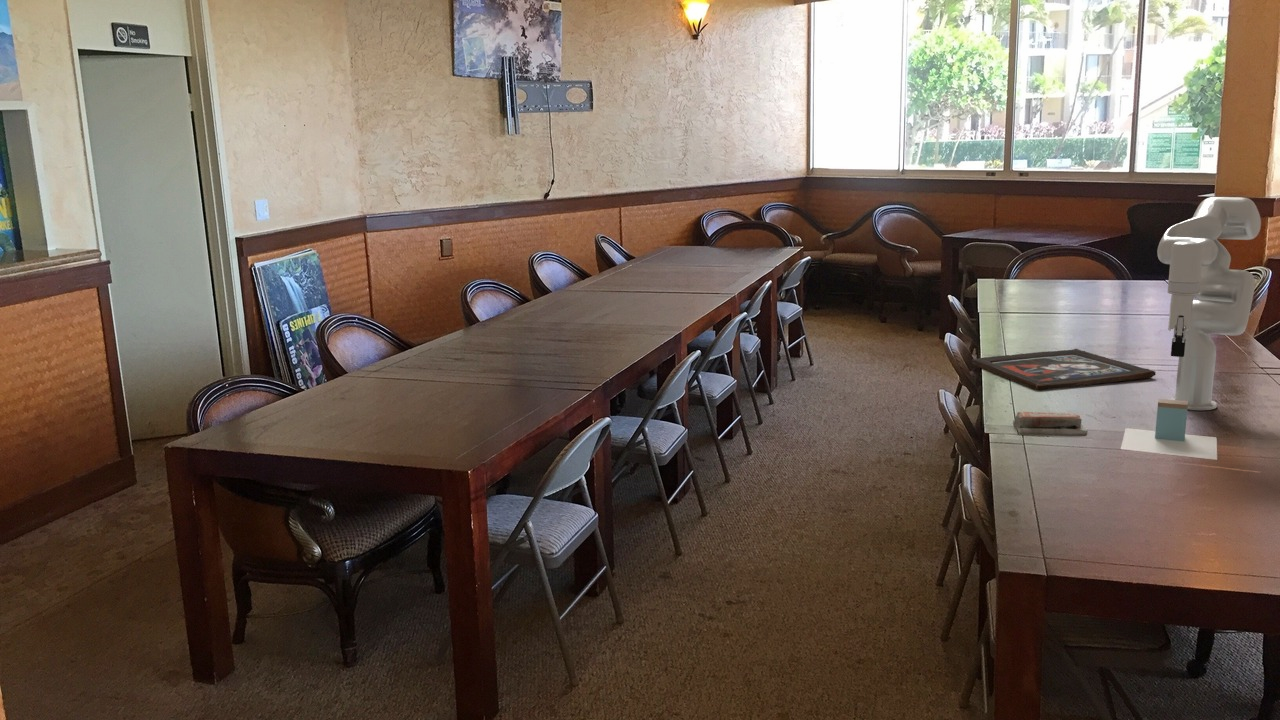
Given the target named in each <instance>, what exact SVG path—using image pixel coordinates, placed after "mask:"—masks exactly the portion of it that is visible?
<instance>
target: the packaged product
mask: <svg viewBox="0 0 1280 720" xmlns="http://www.w3.org/2000/svg"><path fill="white" fill-rule="evenodd" d="M1082 420H1083V419H1082V418H1081V415H1079V414H1076V413H1069V412H1068V413H1065V412H1063V413H1062V412H1058V413H1057V412H1039V411H1038V412H1037V411H1035V412H1033V411H1017V413H1016V415H1015V417H1014V420H1012V423H1013V425H1014V427H1015V428H1016V430H1017V432H1018V433H1019V434H1034V435H1035V434H1040V435H1044V434H1045V435H1079V436H1080V435H1087V434H1088V429H1087V428H1086V427H1084V426H1083V425H1082Z"/></svg>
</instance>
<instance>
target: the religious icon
mask: <svg viewBox="0 0 1280 720" xmlns="http://www.w3.org/2000/svg"><path fill="white" fill-rule="evenodd" d="M971 364H972V365H974V366H976V367H978V368H981V369H983V370H985V371H988V372H990V373H992V374H995V375H998V376H1001V377H1003V378H1006V379H1008V380H1010V381H1013V382H1015V383H1018V384H1020V385H1022V386H1023V387H1024V386H1025V387H1026V388H1027V387H1028V388H1029V389H1031V390H1035V391H1046V390H1056V389H1057V390H1058V389H1066V388H1072V387H1073V388H1076V387H1084V386H1089V385H1098V384H1106V383H1107V384H1109V383H1115V382H1126V381H1133V380H1134V381H1135V380H1142V379H1143V380H1145V379H1151V378H1153V377H1155V376H1156V371H1155V370H1151V369H1150V368H1146V367H1145V368H1144V367H1140V366H1137V365H1133V364H1131V363H1127V362H1124V361H1123V362H1122V361H1120V360H1115V359H1112V358H1110V357H1109V358H1108V357H1105V356H1101V355H1098V354H1094V353H1092V352H1087V351H1085V350H1081V349H1079V348H1074V349H1064V350H1062V349H1061V350H1060V349H1059V350H1053V351H1039V352H1037V351H1036V352H1027V353H1017V354H1010V355H1009V354H1008V355H996V356H985V357H979V358H974V359H971Z"/></svg>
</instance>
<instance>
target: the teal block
mask: <svg viewBox="0 0 1280 720" xmlns="http://www.w3.org/2000/svg"><path fill="white" fill-rule="evenodd" d="M1187 418H1188V401H1179V400H1169V398H1168V399H1167V398H1158V400H1157V411H1156V421H1155V430H1154V431H1155V438H1156V439H1165V440H1175V441H1184V440H1185V434H1186V429H1187V428H1186V427H1187Z"/></svg>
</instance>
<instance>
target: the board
mask: <svg viewBox="0 0 1280 720" xmlns="http://www.w3.org/2000/svg"><path fill="white" fill-rule="evenodd" d="M1155 431H1156V430H1147V429H1138V428H1137V429H1136V428H1128V427H1126V428H1125V429H1124V434H1123V438H1122V442H1121V446H1120V450H1123V451H1124V450H1125V451H1134V452H1140V453H1141V452H1142V453H1151V454H1158V455H1159V454H1161V455H1168V456H1169V455H1171V456H1178V457H1179V456H1180V457H1187V458H1188V457H1189V458H1196V459H1204V460H1205V459H1206V460H1215V461H1217V460H1218V449H1217V448H1218V442H1217V441H1218V440H1217V437H1216V436H1204V435H1197V434H1187V433H1185V440H1184V441H1175V440H1165V439H1156V438H1155Z"/></svg>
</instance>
